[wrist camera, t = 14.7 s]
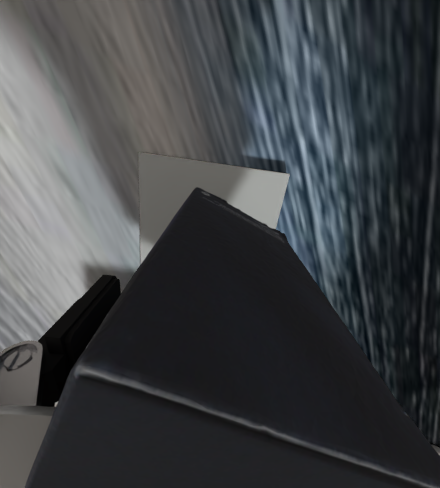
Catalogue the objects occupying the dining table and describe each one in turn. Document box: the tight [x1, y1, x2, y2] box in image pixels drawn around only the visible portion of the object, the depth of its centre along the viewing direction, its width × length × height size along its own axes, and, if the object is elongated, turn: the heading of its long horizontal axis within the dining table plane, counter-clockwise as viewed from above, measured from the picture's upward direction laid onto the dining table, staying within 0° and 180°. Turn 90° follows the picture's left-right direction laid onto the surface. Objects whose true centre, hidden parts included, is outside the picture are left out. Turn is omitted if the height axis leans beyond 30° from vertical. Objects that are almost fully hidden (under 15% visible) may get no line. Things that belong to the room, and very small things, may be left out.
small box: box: [25, 187, 440, 488], centre depth 9 cm, size 11×6×10 cm, turn 151°
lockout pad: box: [138, 152, 290, 264], centre depth 18 cm, size 14×11×1 cm
